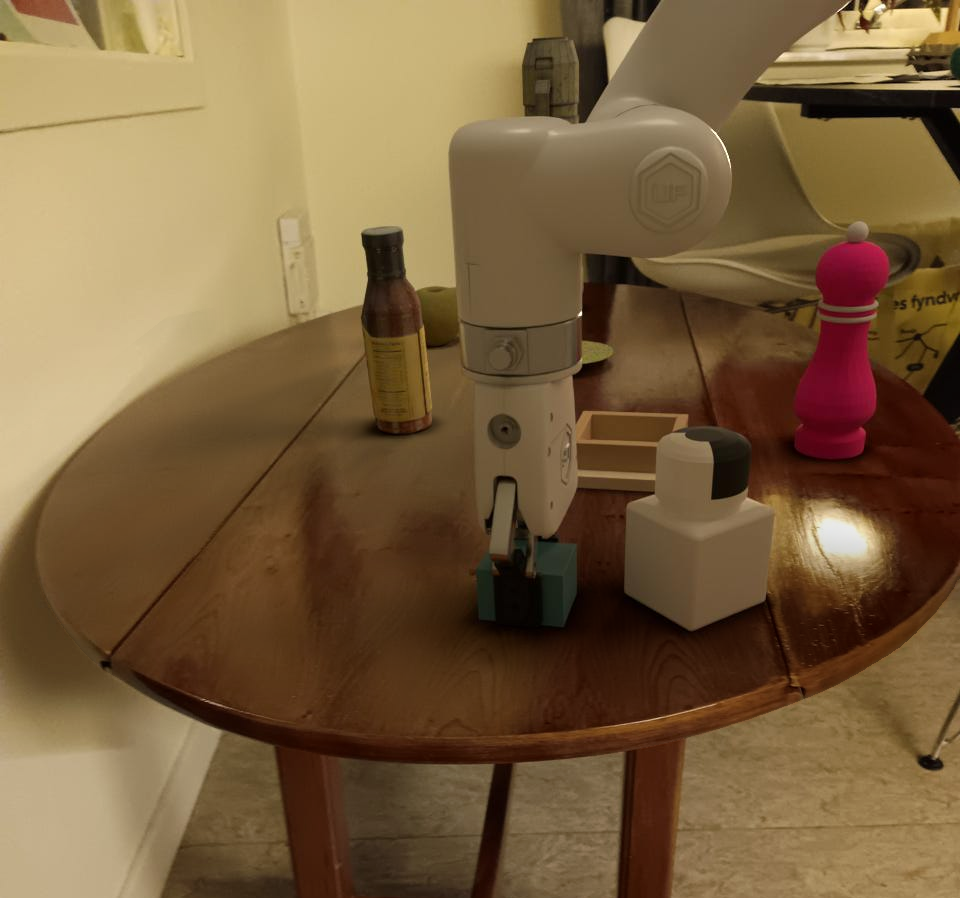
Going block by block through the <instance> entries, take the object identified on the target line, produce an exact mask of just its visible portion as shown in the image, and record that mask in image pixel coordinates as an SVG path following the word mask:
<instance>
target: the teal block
mask: <svg viewBox="0 0 960 898" xmlns="http://www.w3.org/2000/svg"><path fill="white" fill-rule="evenodd" d="M514 544H515V546H516V549H521V550H522V551H523V553H524V555H525V557H526V540H514ZM492 562H493V561H492V560H491V559H490V557H489V547H488V548H487V550H486V552H485V554H484V555H483V557H482V558H481V560H480V561H479V564H478V565H477V567H476V568H475V576H476V577H475V578H476V593H477V611H478V620H481V621H491V622H493V621H494V622H496V620H495V603H494V583H493V572H492ZM577 571H578V544H577V543H567V542H559V543H555V542H540V541H538V548H537V570H536V572H542V614H543V620H542V623H541V625H540V626H547V627H558V628H564V627H565V624H566V621H567V619H568V616H569V614H570V612H571V609H572V606H573V604H574V601H575V599H576V596H577V594H578V572H577Z"/></svg>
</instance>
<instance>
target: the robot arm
mask: <svg viewBox="0 0 960 898" xmlns="http://www.w3.org/2000/svg"><path fill="white" fill-rule="evenodd" d="M851 2H852V0H660V1H659V3H658V4H657V5H656V7H655V9H654V10H653V12H652V13H651V15H650V16H649V18H648V19H647V21H646V23H645V24H644V26H643V27H642V28H641V30H640V31H639V33H638V35H637V36H636V38H635V40H634V41H633V43H632V44H631V46H630V47H629V50H628V51H627V52H626V54H625V56H624V57H623V59H622V60H621V62H620V64H619V65H618V67H617V69H616V70H615V72H614V73H613V75H612V77H611V79H610V80H609V82H608V84H607V85H606V87H605V88H604V90H603V92H602V93H601V95H600V97H599V99H598V100H597V102H596V104H595V105H594V107H593V108H592V110H591V112H590V114H589V115H588V117H587V118H586V121H585V122H581V123H580V122H579V124H571V123H570V122H568V121H566V120H563V119H561V118H555V117H546V116H530V117H525V116H509V117H496V118H488V119H480V120H476V121H472V122H468V123H466V124H464V125H462V126H460V127H459V128H458V129H456V131H455V132H454V133H453V135H452V137H451V139H450V142H449V145H448V153H447V154H448V155H447V156H448V157H447V158H448V162H447V163H448V181H449V196H450V197H449V199H450V210H451V211H450V212H451V226H452V227H451V228H452V240H453V242H452V244H453V257H454V274H455V275H454V277H455V291H456V295H457V311H458V325H459V333H458V340H459V355H460V372H461V374H462V375H463V377H465V378H467V379H469V380H470V381H474V395H473V396H474V397H473V401H474V402H473V456H474V457H473V459H474V483H475V484H474V488H475V489H474V491H475V503H476V513H477V522H478V526H479V529H480V530H481V531H482V532H483V533H484V534H485V535H488V536H489V535H490V538H489V546H488V548H489V557H490V559H491V560H492V561H493V562H492V572H493V583H494V603H495V620H496V621H495V622H496V623H497V624H499V625H503V626H513V627H524V628H535V629H536V628H540V627H541V626H542V625H541V623H542V620H543V614H542V572H536V570H537V548H538V541H540V542H555V543H560V535H558V534H557V533H558V531H559V527H560V526H561V524H562V522H563V520H564V518H565V516H566V514H567V512H568V510H569V507H570V506H571V503H572V501H573V500H574V497H575V494H576V492H577V489H578V488H577V483H578V469H577V447H576V406H575V405H576V404H575V392H574V380H573V375H574V376H575V375H576V374H577V373H579V372H580V371H581V369H582V368H583V364H582V341H583V293H582V267H583V254H586V255H587V254H588V255H589V254H590V255H603V256H613V257H624V258H637V259H662V258H667V257H672V256H676V255H679V254H681V253H684V252H686V251H689V250H690V249H692V248H695V246H697V245H699V244H700V243H701V242H703V241H704V240H705V239H706V238H707V237H708V236H709V235H710V234H711V233H712V232H713V231H714V230H715V228H716V227H717V226H718V224H719V223H720V221H722V218H723V216H724V214H725V212H726V210H727V207H728V205H729V202H730V198H731V194H732V187H733V173H732V166H731V162H730V158H729V155H728V152H727V149H726V147H725V145H724V143H723V142H722V140H721V138H720V137H719V135H718V133H719V132H720V131H721V129H722V127H723V126H724V124H725V123H726V122H727V120H728V119H729V118H730V116H731V115H732V113H733V112H734V110H735V109H736V108H737V106H738V105H739V104H740V103H741V101H742V100H743V98H744V97H745V96H746V95H747V93H748V92H749V91H750V89H751V88H752V87H753V86H754V85H755V83H756V82H757V81H758V80H759V79H760V78H761V77H762V75H764V73H765V72H766V71H768V70H769V68H770V67H771V66H772V65H773V64H774V63H775V62H776V61H777V60H779V58H780V57H781V56H782V55H783V54H784V53H785V52H786V51H787V50H788V49H789V48H791V47H792V46H793V45H794V44H795V43H797V42H798V41H799V40H801V38H803V37H804V36H805V35H807V34H808V33H810V32H811V31H812V30H814V29H815V28H817V27H819V26H820V25H821V24H823V23H824V22H825V21H827V20H829V19H831V17H833V16H834V15H836V14H837V13H839V11H841V10H842V9H844V8H845V7H846V6H848V4H849V3H851ZM514 540H526V557H525V555H524V553H523V551H522V550H521V549H516V546H515V544H514Z"/></svg>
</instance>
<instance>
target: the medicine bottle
mask: <svg viewBox="0 0 960 898" xmlns="http://www.w3.org/2000/svg"><path fill="white" fill-rule="evenodd" d="M752 448H753V447H752V444H751V443H750V442H749V440H748V439H747V437H745V436H744V435H743V434H741V433H739V432H735V431H733V430H731V429H728V428H725V427H720V426H714V425H713V426H712V425H692V426H688V427H686V428H682V429H678V430H676V431H673V432H670V433H668V434H666V435H665V436H663V437H662V439H661V440H660V441H659V442H658V443H657V452H656V476H655V492H654V494H651V495H648V496H645V497H643V498H640V499H636V500H633V501H630V502H628V503H627V505H626V507H625V510H626V511H625V544H624V545H625V546H624V581H623V582H624V586H623V591H624V594H625V595H626V596H628V597H630V598H631V599H633V600H635V601H637V602H638V603H640V604H642V605H644V606H645V607H647V608H649V609H651V610H653V611H654V612H656V613H658V614H659V615H661V616H663V617H665V618H666V619H668V620H670V621H672V622H673V623H675V624H677V625H678V626H680V627H681V628H684V629H685V630H687V631H689V632H694V631H696V630H697V631H698V630H699V629H702V628H704V627H707V626H709V625H711V624H714V623H716V622H718V621H721V620H723V619H726V618H728V617H730V616H733V615H736V614H738V613H740V612H743V611H745V610H747V609H750V608H752V607H755V606H757V605H759V604H762V603H763V602H765V601H766V599H767V589H768V579H769V570H770V563H771V562H770V561H771V554H772V552H771V551H772V544H773V534H774V533H773V532H774V525H775V515H776V511H775V509H774V508H773V507H772V506H768V505H766V504H764V503H762V502H759V501H757V500H754V499H752V498H749V497H748V492H749V481H750V480H749V479H750V470H751V469H750V468H751V459H752Z"/></svg>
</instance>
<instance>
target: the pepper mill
mask: <svg viewBox="0 0 960 898" xmlns="http://www.w3.org/2000/svg"><path fill="white" fill-rule="evenodd" d="M869 233H870V231H869V227H868V225H867V224H866V222H863V221H861V220H859V221H855V222H852V223H851V224H850V225H849V226H848V228H847V229H846V233H845V234H846V235H845V236H846V238H847V241H846V240H845V241H842V242H839V243H837V244H836V243H835V244H834V245H833V246H830V247H829V248H828V249H827V250H826V251H825V252H824V253H823V254H822V255H821V256H820V258H819V261H818V263H817V266H816V269H815V277H814V278H815V279H814V281H815V285H816V288H817V290H818V291H819V292H820V294H821V295H822V298H821V299H819V300H818V302H817V306H818V310H817V311H816V317H817V318H818V319H820V327H819V336H818V340H817V344H816V348H815V350H814V353H813V355H812V359H811V361H810V362H809V364H808V366H807V368H806V369H805V371H804V373H803V375H802V376H801V378H800V380H799V383H798V386H797V388H796V390H795V393H794V397H793V404H792V405H793V406H792V407H793V411H794V414H795V415H796V417H797V418H798V420H799V421H800V422H801V424H799V425H798V426H797V427H796V428H795V434H794V442H793V443H794V444H793V445H794V449H795V450H796V451H797V452H798V453H800V454H802V455H804V456H806V457H811V458H815V459H820V460H822V459H823V460H844V459H851V458H854V457H855V458H856V457H857V456H859V455H861V454H862V453H863V451H864V448H865V442H866V435H867V433H866V430H865V429H864V428H863V427H862V426H864V425H865V424H866V423H867V422H868V421H869V420H871V418H872V417H873V416H874V414H875V412H876V409H877V387H876V382H875V378H874V375H873V371H872V367H871V363H870V360H869V352H868V342H869V341H868V340H869V331H870V326H871V322H872V321H873V320H875V319H876V317H877V316H878V314H877V308H878V307H879V301H877V300H876V297H877V296H878V295H879V293H880V292H882V291H883V290H884V288H885V287H886V285H887V283H888V281H889V279H890V278H889V277H890V262H889V256H887V254H886V252H885V250H884V249H882V247H880V246H879V245H877V244H876V243H873V242H869V241H866V239H867V238H868V236H869Z"/></svg>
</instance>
